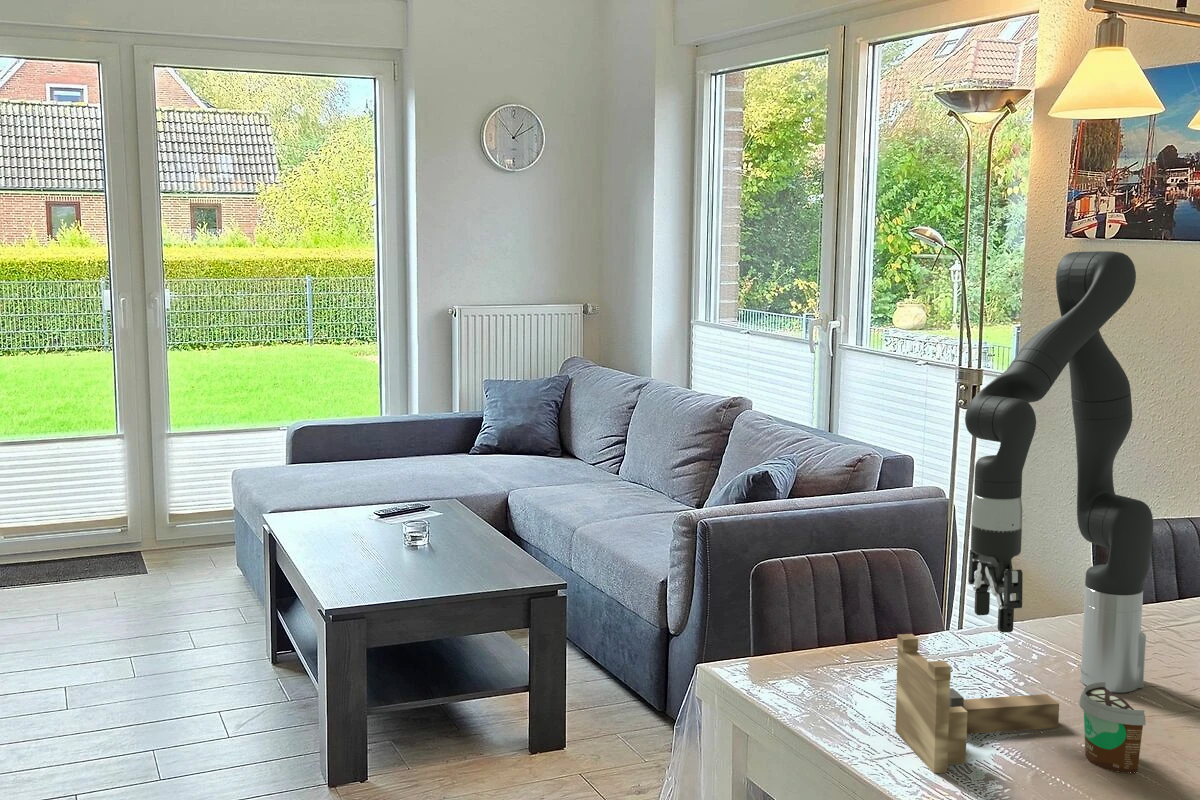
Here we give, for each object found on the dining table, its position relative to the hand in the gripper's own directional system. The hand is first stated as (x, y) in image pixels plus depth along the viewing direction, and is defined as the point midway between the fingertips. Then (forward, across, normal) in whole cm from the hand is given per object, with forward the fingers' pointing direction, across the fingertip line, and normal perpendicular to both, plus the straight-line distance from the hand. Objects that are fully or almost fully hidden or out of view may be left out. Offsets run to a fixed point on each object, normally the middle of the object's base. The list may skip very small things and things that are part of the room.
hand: (993, 622), depth 191 cm
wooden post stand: (+17, -8, +13) cm, 23 cm away
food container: (+17, -15, -10) cm, 25 cm away
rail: (+17, -1, -1) cm, 17 cm away
